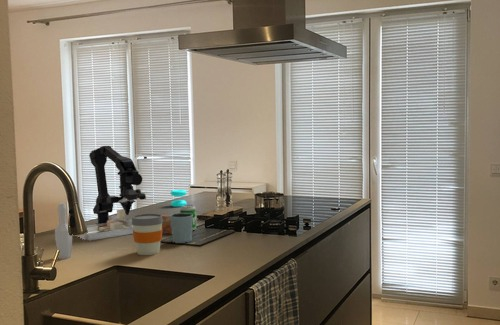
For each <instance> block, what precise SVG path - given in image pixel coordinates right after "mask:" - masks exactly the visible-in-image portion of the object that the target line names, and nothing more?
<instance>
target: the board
mask: <svg viewBox="0 0 500 325" xmlns="http://www.w3.org/2000/svg"><path fill="white" fill-rule="evenodd" d="M132 227H133V225H132ZM123 228H127V226H124V225H123ZM107 230H112V229H110V228H109V227H107V226H106V227H99V231H107Z"/></svg>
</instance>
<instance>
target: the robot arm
mask: <svg viewBox="0 0 500 325" xmlns="http://www.w3.org/2000/svg"><path fill="white" fill-rule="evenodd" d="M88 156H89V160H90V163H91V164H92V165H93V167H94V170H95V178H96V179H95V180H96V186H97V197H96V199H95V205H94V207H93V208H92V212H93V215H97V222H96V223H95V224H102V223H107V221H109V220H110V217H109V213H113V209H114V204H117V203H118V204H120V205H121V207H122V209H124V210H125V216H129V214H130V210H131V208H132V205H133V203H135V202H136V200H138V199H139V200H147V196H146V194H145V193H144V192H141V188H138V189H134V186H139V185H141V184H142V182H143V177H142V175H141V174H140V173H139V171H138V169H137V167H136V166H135V163H134V162H133V160H132V158H130V157H128V156H123V155H121V154H120V153H119V152H117V151H116V150H115V149H114V148H112V146H111V145H102V146H100V147H99V148H95V149H94V150H91V151H90V152H89V155H88ZM107 158H108V159H109V160H111V161H112V162H113V163H115V164H114V165H115V168H116V169H117V170H118V172H117V175H118V176H119V186H118V188H119V189H120V190H119V192H120V193H119V196H117V195H110V194H109V190H108V184H107V177H106V176H107V175H106V174H107V173H106V169H105V168H106V163H107V161H108V159H107ZM95 224H94V225H95Z"/></svg>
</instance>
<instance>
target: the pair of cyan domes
mask: <svg viewBox="0 0 500 325" xmlns="http://www.w3.org/2000/svg"><path fill="white" fill-rule="evenodd" d="M170 195H171V196H172V197H176V198H177V197H179V198H180V197H184V196H186V195H187V190H186V189H174V190H171V192H170ZM187 204H188V202H187V201H186V200H184V199H176V200H173V201H171V203H170V205H171V206H172V207H174V208H181V207H182V206H184V205H187Z"/></svg>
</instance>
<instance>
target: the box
mask: <svg viewBox="0 0 500 325" xmlns="http://www.w3.org/2000/svg"><path fill="white" fill-rule="evenodd" d="M87 230H88V233H94V232H101V231H98V226H96V227H89V228H87ZM88 233H87V234H88ZM87 234H84V235H80V238H79V239H81V238H82V239H81V240H83V239H84V240H83V241H87V240H86V239H87ZM78 237H79V236H78ZM78 237H77V238H78Z"/></svg>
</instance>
